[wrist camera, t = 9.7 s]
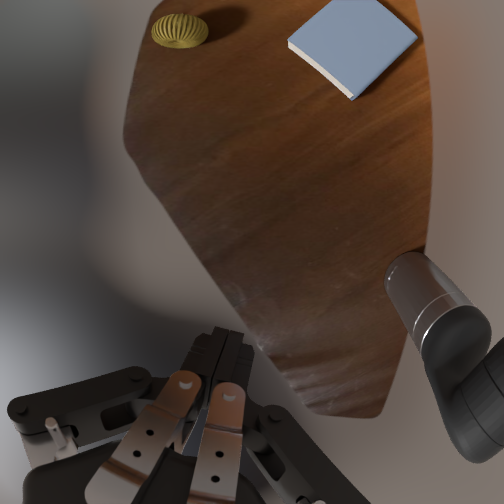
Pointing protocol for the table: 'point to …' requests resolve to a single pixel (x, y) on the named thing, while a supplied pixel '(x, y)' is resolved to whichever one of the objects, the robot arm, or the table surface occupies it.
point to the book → (352, 43)
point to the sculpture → (179, 31)
